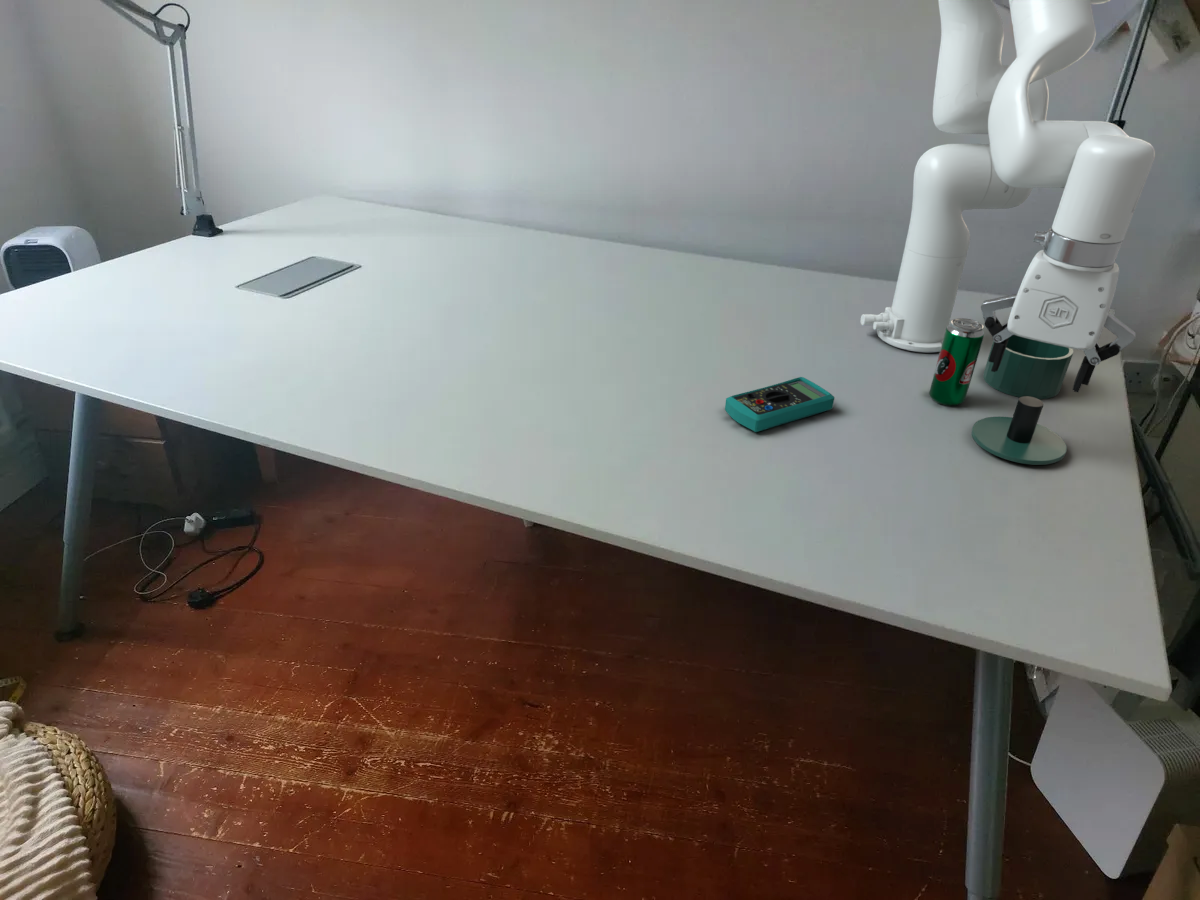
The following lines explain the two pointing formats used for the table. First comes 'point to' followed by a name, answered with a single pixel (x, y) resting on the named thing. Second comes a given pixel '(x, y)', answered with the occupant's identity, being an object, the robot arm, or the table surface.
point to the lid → (1020, 435)
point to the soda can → (956, 361)
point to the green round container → (1029, 368)
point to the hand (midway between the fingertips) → (1035, 377)
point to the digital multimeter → (778, 404)
